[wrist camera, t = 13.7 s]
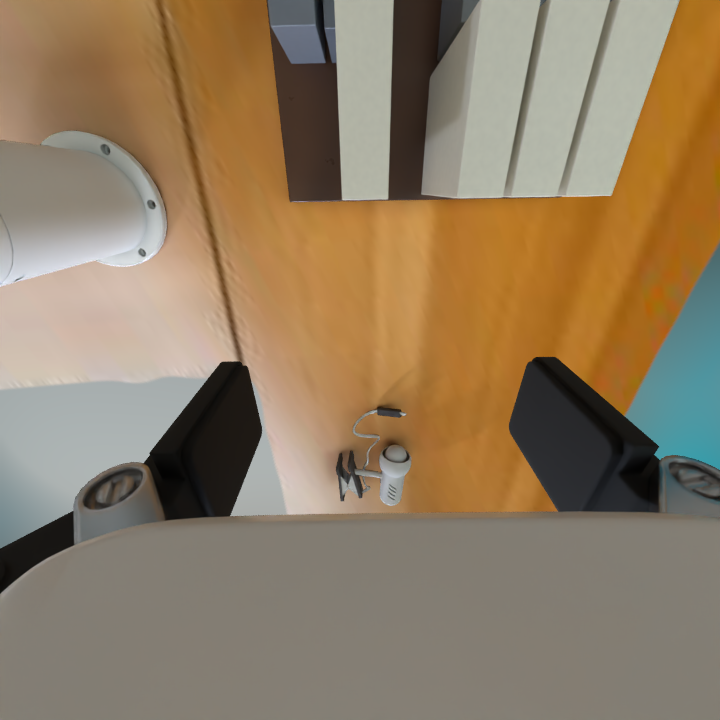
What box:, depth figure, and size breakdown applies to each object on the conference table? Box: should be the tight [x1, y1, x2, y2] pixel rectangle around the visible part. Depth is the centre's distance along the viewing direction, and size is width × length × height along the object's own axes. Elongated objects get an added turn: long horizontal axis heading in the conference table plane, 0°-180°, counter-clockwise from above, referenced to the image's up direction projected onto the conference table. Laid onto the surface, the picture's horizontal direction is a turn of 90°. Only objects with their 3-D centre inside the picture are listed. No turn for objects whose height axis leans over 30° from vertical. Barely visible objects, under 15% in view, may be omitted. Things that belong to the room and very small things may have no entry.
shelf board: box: [267, 0, 562, 202], centre depth 27 cm, size 28×20×2 cm
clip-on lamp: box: [336, 407, 411, 506], centre depth 48 cm, size 12×6×18 cm
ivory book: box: [334, 0, 394, 200], centre depth 23 cm, size 3×9×13 cm, turn 1°
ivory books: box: [421, 0, 679, 198], centre depth 23 cm, size 10×9×13 cm
